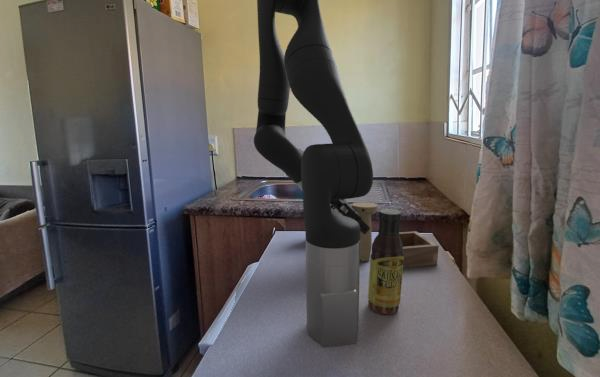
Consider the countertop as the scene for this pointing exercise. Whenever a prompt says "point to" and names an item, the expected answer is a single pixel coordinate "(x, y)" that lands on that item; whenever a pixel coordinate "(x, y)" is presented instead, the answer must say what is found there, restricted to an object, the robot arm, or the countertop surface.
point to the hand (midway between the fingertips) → (361, 225)
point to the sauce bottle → (386, 264)
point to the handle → (365, 214)
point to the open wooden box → (418, 249)
